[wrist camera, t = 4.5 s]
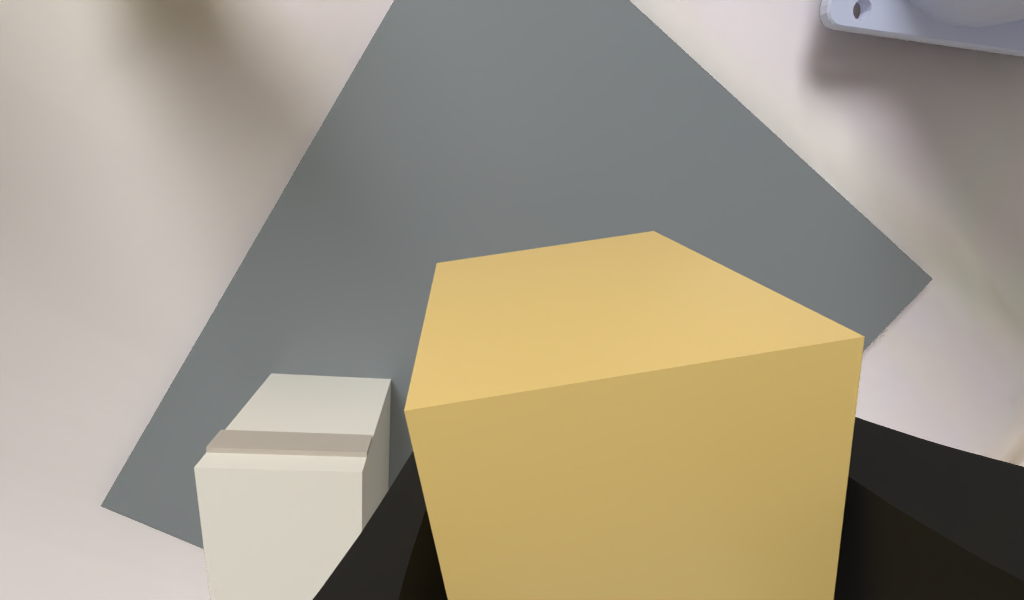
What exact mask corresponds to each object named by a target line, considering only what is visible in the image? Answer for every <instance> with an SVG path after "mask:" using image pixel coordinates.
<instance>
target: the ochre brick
mask: <svg viewBox="0 0 1024 600" xmlns="http://www.w3.org/2000/svg"><path fill="white" fill-rule="evenodd" d="M864 338H865V337H864V336H862V335H860V334H858V333H856V332H854V331H852V330H850V329H848V328H846V327H844V326H842V325H840V324H838V323H836V322H834V321H832V320H830V319H828V318H826V317H824V316H822V315H820V314H819V313H817V312H815V311H813V310H811V309H809V308H807V307H805V306H803V305H801V304H799V303H797V302H795V301H793V300H791V299H789V298H787V297H785V296H783V295H781V294H779V293H777V292H775V291H773V290H771V289H769V288H767V287H765V286H763V285H761V284H759V283H757V282H755V281H753V280H751V279H749V278H747V277H745V276H743V275H741V274H739V273H737V272H735V271H733V270H731V269H729V268H727V267H725V266H723V265H721V264H719V263H717V262H715V261H713V260H711V259H709V258H707V257H705V256H703V255H701V254H699V253H697V252H695V251H693V250H691V249H689V248H687V247H685V246H683V245H681V244H679V243H677V242H675V241H673V240H671V239H669V238H667V237H665V236H663V235H661V234H659V233H657V232H655V231H650V232H643V233H637V234H630V235H623V236H616V237H609V238H603V239H596V240H589V241H582V242H576V243H569V244H562V245H555V246H549V247H542V248H535V249H528V250H522V251H515V252H508V253H501V254H494V255H488V256H481V257H474V258H467V259H461V260H454V261H447V262H440V263H437V264H436V268H435V273H434V278H433V282H432V287H431V291H430V296H429V300H428V305H427V309H426V314H425V318H424V323H423V327H422V332H421V336H420V341H419V345H418V350H417V355H416V359H415V364H414V368H413V373H412V377H411V382H410V386H409V391H408V395H407V400H406V404H405V409H404V413H405V417H406V421H407V426H408V430H409V434H410V438H411V443H412V447H413V451H414V456H415V460H416V464H417V469H418V473H419V477H420V482H421V486H422V490H423V495H424V499H425V503H426V508H427V512H428V516H429V521H430V525H431V529H432V533H433V538H434V542H435V546H436V551H437V555H438V559H439V564H440V568H441V572H442V577H443V581H444V585H445V590H446V594H447V598H448V600H834V592H835V583H836V575H837V566H838V558H839V549H840V541H841V532H842V524H843V515H844V507H845V499H846V490H847V482H848V473H849V465H850V456H851V448H852V439H853V431H854V422H855V414H856V405H857V397H858V388H859V380H860V371H861V363H862V354H863V346H864Z"/></svg>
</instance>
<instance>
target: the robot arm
mask: <svg viewBox="0 0 1024 600" xmlns="http://www.w3.org/2000/svg"><path fill="white" fill-rule="evenodd" d="M856 3H858V4H859V6H860V8H861V9H860V15H859V17H858V19H856V18H855V17H854V14H853V7H854V5H855V4H856ZM819 15H820V19H821V22H822V24H823V25H824V26H825V27H826V28H829V29H831V30H838V31H845V32H852V33H859V34H866V35H873V36H880V37H887V38H894V39H901V40H908V41H915V42H922V43H929V44H936V45H943V46H951V47H958V48H965V49H972V50H979V51H986V52H993V53H1000V54H1007V55H1014V56H1021V57H1024V0H822V2H821V6H820V14H819ZM313 600H448V598H447V594H446V590H445V585H444V581H443V577H442V572H441V568H440V564H439V559H438V555H437V551H436V546H435V542H434V538H433V533H432V529H431V525H430V521H429V516H428V512H427V508H426V503H425V499H424V495H423V490H422V486H421V482H420V477H419V473H418V469H417V464H416V460H415V456H414V451H413V452H412V454H411V455H410V457H409V458H408V460H407V461H406V463H405V465H404V466H403V468H402V469H401V471H400V472H399V474H398V476H397V477H396V479H395V481H394V482H393V484H392V485H391V487H390V489H389V490H388V492H387V493H386V495H385V496H384V498H383V500H382V501H381V503H380V504H379V506H378V507H377V509H376V510H375V512H374V514H373V515H372V517H371V518H370V520H369V521H368V523H367V524H366V526H365V527H364V529H363V530H362V532H361V533H360V535H359V536H358V538H357V539H356V541H355V542H354V543H353V545H352V546H351V548H350V549H349V550H348V552H347V553H346V554H345V556H344V557H343V559H342V560H341V561H340V563H339V564H338V566H337V567H336V568H335V570H334V571H333V573H332V574H331V575H330V577H329V578H328V580H327V581H326V582H325V584H324V585H323V586H322V588H321V589H320V591H319V592H318V593H317V594H316V596H315V597H314V598H313ZM834 600H1024V467H1022V466H1018V465H1014V464H1011V463H1007V462H1003V461H999V460H996V459H992V458H988V457H984V456H981V455H977V454H973V453H969V452H965V451H962V450H958V449H954V448H951V447H947V446H944V445H941V444H937V443H934V442H930V441H927V440H924V439H921V438H917V437H914V436H911V435H908V434H905V433H902V432H899V431H896V430H893V429H890V428H887V427H884V426H881V425H877V424H874V423H871V422H868V421H865V420H863V419H860V418H857V417H855V422H854V431H853V439H852V448H851V456H850V465H849V473H848V482H847V490H846V499H845V507H844V515H843V524H842V532H841V541H840V549H839V558H838V566H837V575H836V583H835V592H834Z"/></svg>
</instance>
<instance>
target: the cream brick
mask: <svg viewBox="0 0 1024 600" xmlns="http://www.w3.org/2000/svg"><path fill="white" fill-rule="evenodd" d="M390 402H391V379H379V378H358V377H337V376H316V375H295V374H274V373H271V374H270V376H269V377H268V378H267V379H266V381H265V382H264V383H263V384H262V385H261V387H260V388H259V389H258V390H257V391H256V393H255V394H254V395H253V396H252V398H251V399H250V400H249V401H248V402H247V404H246V405H245V406H244V407H243V409H242V410H241V411H240V412H239V413H238V415H237V416H236V417H235V418H234V419H233V421H232V422H231V423H230V424H229V426H228V427H227V428H226V429H225V430H220V431H219V432H218V434H217V435H216V436H215V437H214V438H213V440H212V441H211V442H210V443H209V444H208V446H207V447H206V454H205V455H204V456H203V457H202V458H201V460H200V461H199V462H198V463H197V465H196V466H195V467H194V472H195V480H196V488H197V496H198V505H199V513H200V521H201V529H202V538H203V546H204V554H205V562H206V571H207V579H208V587H209V595H210V600H313V598H314V597H315V596H316V594H317V593H318V592H319V591H320V589H321V588H322V586H323V585H324V584H325V582H326V581H327V580H328V578H329V577H330V575H331V574H332V573H333V571H334V570H335V568H336V567H337V566H338V564H339V563H340V561H341V560H342V559H343V557H344V556H345V554H346V553H347V552H348V550H349V549H350V548H351V546H352V545H353V543H354V542H355V541H356V539H357V538H358V536H359V535H360V533H361V532H362V530H363V529H364V527H365V526H366V524H367V523H368V521H369V520H370V518H371V517H372V515H373V514H374V512H375V510H376V509H377V507H378V506H379V504H380V503H381V501H382V500H383V498H384V496H385V495H386V493H387V492H388V479H389V441H390Z"/></svg>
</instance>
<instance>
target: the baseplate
mask: <svg viewBox="0 0 1024 600" xmlns="http://www.w3.org/2000/svg"><path fill="white" fill-rule="evenodd" d="M650 231H655V232H657V233H659V234H661V235H663V236H665V237H667V238H669V239H671V240H673V241H675V242H677V243H679V244H681V245H683V246H685V247H687V248H689V249H691V250H693V251H695V252H697V253H699V254H701V255H703V256H705V257H707V258H709V259H711V260H713V261H715V262H717V263H719V264H721V265H723V266H725V267H727V268H729V269H731V270H733V271H735V272H737V273H739V274H741V275H743V276H745V277H747V278H749V279H751V280H753V281H755V282H757V283H759V284H761V285H763V286H765V287H767V288H769V289H771V290H773V291H775V292H777V293H779V294H781V295H783V296H785V297H787V298H789V299H791V300H793V301H795V302H797V303H799V304H801V305H803V306H805V307H807V308H809V309H811V310H813V311H815V312H817V313H819V314H820V315H822V316H824V317H826V318H828V319H830V320H832V321H834V322H836V323H838V324H840V325H842V326H844V327H846V328H848V329H850V330H852V331H854V332H856V333H858V334H860V335H862V336H864V337H865V338H864V346H863V351H864V350H865V349H866V348H867V347H868V346H869V345H870V343H871V342H872V341H873V340H874V339H875V338H876V337H877V336H878V335H879V334H880V333H881V332H882V331H883V330H884V329H885V328H886V327H887V326H888V325H889V324H890V323H891V322H892V321H893V320H894V319H895V317H896V316H897V315H898V314H899V313H900V312H901V311H902V310H903V309H904V308H905V307H906V306H907V305H908V304H909V303H910V302H911V301H912V300H913V299H914V298H915V297H916V296H917V295H918V294H919V293H920V291H921V290H922V289H923V288H924V287H925V286H926V285H927V284H928V283H929V282H930V281H931V280H932V278H931V277H930V276H929V275H928V274H927V273H926V272H924V271H923V270H922V269H921V268H920V267H919V266H918V265H917V264H916V263H915V262H914V261H912V260H911V259H910V258H909V257H908V256H907V255H906V254H905V253H904V252H903V251H902V250H900V249H899V248H898V247H897V246H896V245H895V244H894V243H893V242H892V241H891V240H890V239H888V238H887V237H886V236H885V235H884V234H883V233H882V232H881V231H880V230H879V229H878V228H876V227H875V226H874V225H873V224H872V223H871V222H870V221H869V220H868V219H867V218H866V217H865V216H863V215H862V214H861V213H860V212H859V211H858V210H857V209H856V208H855V207H854V206H853V205H851V204H850V203H849V202H848V201H847V200H846V199H845V198H844V197H843V196H842V195H841V194H839V193H838V192H837V191H836V190H835V189H834V188H833V187H832V186H831V185H830V184H829V183H827V182H826V181H825V180H824V179H823V178H822V177H821V176H820V175H819V174H818V173H817V172H815V171H814V170H813V169H812V168H811V167H810V166H809V165H808V164H807V163H806V162H805V161H804V160H802V159H801V158H800V157H799V156H798V155H797V154H796V153H795V152H794V151H793V150H792V149H790V148H789V147H788V146H787V145H786V144H785V143H784V142H783V141H782V140H781V139H780V138H778V137H777V136H776V135H775V134H774V133H773V132H772V131H771V130H770V129H769V128H768V127H766V126H765V125H764V124H763V123H762V122H761V121H760V120H759V119H758V118H757V117H756V116H754V115H753V114H752V113H751V112H750V111H749V110H748V109H747V108H746V107H745V106H744V105H742V104H741V103H740V102H739V101H738V100H737V99H736V98H735V97H734V96H733V95H732V94H731V93H729V92H728V91H727V90H726V89H725V88H724V87H723V86H722V85H721V84H720V83H719V82H717V81H716V80H715V79H714V78H713V77H712V76H711V75H710V74H709V73H708V72H707V71H705V70H704V69H703V68H702V67H701V66H700V65H699V64H698V63H697V62H696V61H695V60H693V59H692V58H691V57H690V56H689V55H688V54H687V53H686V52H685V51H684V50H683V49H681V48H680V47H679V46H678V45H677V44H676V43H675V42H674V41H673V40H672V39H671V38H669V37H668V36H667V35H666V34H665V33H664V32H663V31H662V30H661V29H660V28H659V27H658V26H656V25H655V24H654V23H653V22H652V21H651V20H650V19H649V18H648V17H647V16H646V15H644V14H643V13H642V12H641V11H640V10H639V9H638V8H637V7H636V6H635V5H634V4H632V3H631V2H630V1H629V0H394V2H393V3H392V5H391V7H390V9H389V10H388V12H387V14H386V16H385V17H384V19H383V21H382V22H381V24H380V26H379V28H378V29H377V31H376V33H375V34H374V36H373V38H372V40H371V41H370V43H369V45H368V47H367V48H366V50H365V52H364V53H363V55H362V57H361V59H360V60H359V62H358V64H357V65H356V67H355V69H354V71H353V72H352V74H351V76H350V78H349V79H348V81H347V83H346V84H345V86H344V88H343V90H342V91H341V93H340V95H339V96H338V98H337V100H336V102H335V103H334V105H333V107H332V109H331V110H330V112H329V114H328V115H327V117H326V119H325V121H324V122H323V124H322V126H321V127H320V129H319V131H318V133H317V134H316V136H315V138H314V140H313V141H312V143H311V145H310V146H309V148H308V150H307V152H306V153H305V155H304V157H303V158H302V160H301V162H300V164H299V165H298V167H297V169H296V171H295V172H294V174H293V176H292V177H291V179H290V181H289V183H288V184H287V186H286V188H285V190H284V191H283V193H282V195H281V196H280V198H279V200H278V202H277V203H276V205H275V207H274V208H273V210H272V212H271V214H270V215H269V217H268V219H267V221H266V222H265V224H264V226H263V227H262V229H261V231H260V233H259V234H258V236H257V238H256V239H255V241H254V243H253V245H252V246H251V248H250V250H249V252H248V253H247V255H246V257H245V258H244V260H243V262H242V264H241V265H240V267H239V269H238V270H237V272H236V274H235V276H234V277H233V279H232V281H231V283H230V284H229V286H228V288H227V289H226V291H225V293H224V295H223V296H222V298H221V300H220V301H219V303H218V305H217V307H216V308H215V310H214V312H213V314H212V315H211V317H210V319H209V320H208V322H207V324H206V326H205V327H204V329H203V331H202V332H201V334H200V336H199V338H198V339H197V341H196V343H195V345H194V346H193V348H192V350H191V351H190V353H189V355H188V357H187V358H186V360H185V362H184V363H183V365H182V367H181V369H180V370H179V372H178V374H177V376H176V377H175V379H174V381H173V382H172V384H171V386H170V388H169V389H168V391H167V393H166V394H165V396H164V398H163V400H162V401H161V403H160V405H159V407H158V408H157V410H156V412H155V413H154V415H153V417H152V419H151V420H150V422H149V424H148V425H147V427H146V429H145V431H144V432H143V434H142V436H141V438H140V439H139V441H138V443H137V444H136V446H135V448H134V450H133V451H132V453H131V455H130V456H129V458H128V460H127V462H126V463H125V465H124V467H123V469H122V470H121V472H120V474H119V475H118V477H117V479H116V481H115V482H114V484H113V486H112V487H111V489H110V491H109V493H108V494H107V496H106V498H105V500H104V501H103V503H102V505H101V506H102V507H104V508H107V509H109V510H111V511H114V512H116V513H119V514H121V515H123V516H126V517H128V518H131V519H133V520H135V521H138V522H140V523H143V524H145V525H147V526H150V527H152V528H155V529H157V530H160V531H162V532H164V533H167V534H169V535H172V536H174V537H176V538H179V539H181V540H184V541H186V542H188V543H191V544H193V545H196V546H198V547H200V548H203V549H204V546H203V538H202V529H201V521H200V513H199V505H198V496H197V488H196V480H195V472H194V467H195V466H196V465H197V463H198V462H199V461H200V460H201V458H202V457H203V456H204V455H205V454H206V447H207V446H208V444H209V443H210V442H211V441H212V440H213V438H214V437H215V436H216V435H217V434H218V432H219V431H220V430H225V429H226V428H227V427H228V426H229V424H230V423H231V422H232V421H233V419H234V418H235V417H236V416H237V415H238V413H239V412H240V411H241V410H242V409H243V407H244V406H245V405H246V404H247V402H248V401H249V400H250V399H251V398H252V396H253V395H254V394H255V393H256V391H257V390H258V389H259V388H260V387H261V385H262V384H263V383H264V382H265V381H266V379H267V378H268V377H269V376H270V374H271V373H274V374H295V375H316V376H337V377H358V378H379V379H391V402H390V441H389V479H388V490H389V489H390V487H391V485H392V484H393V482H394V481H395V479H396V477H397V476H398V474H399V472H400V471H401V469H402V468H403V466H404V465H405V463H406V461H407V460H408V458H409V457H410V455H411V454H412V452H413V447H412V443H411V438H410V434H409V430H408V426H407V421H406V417H405V413H404V409H405V404H406V400H407V395H408V391H409V386H410V382H411V377H412V373H413V368H414V364H415V359H416V355H417V350H418V345H419V341H420V336H421V332H422V327H423V323H424V318H425V314H426V309H427V305H428V300H429V296H430V291H431V287H432V282H433V278H434V273H435V268H436V264H437V263H440V262H447V261H454V260H461V259H467V258H474V257H481V256H488V255H494V254H501V253H508V252H515V251H522V250H528V249H535V248H542V247H549V246H555V245H562V244H569V243H576V242H582V241H589V240H596V239H603V238H609V237H616V236H623V235H630V234H637V233H643V232H650Z"/></svg>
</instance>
